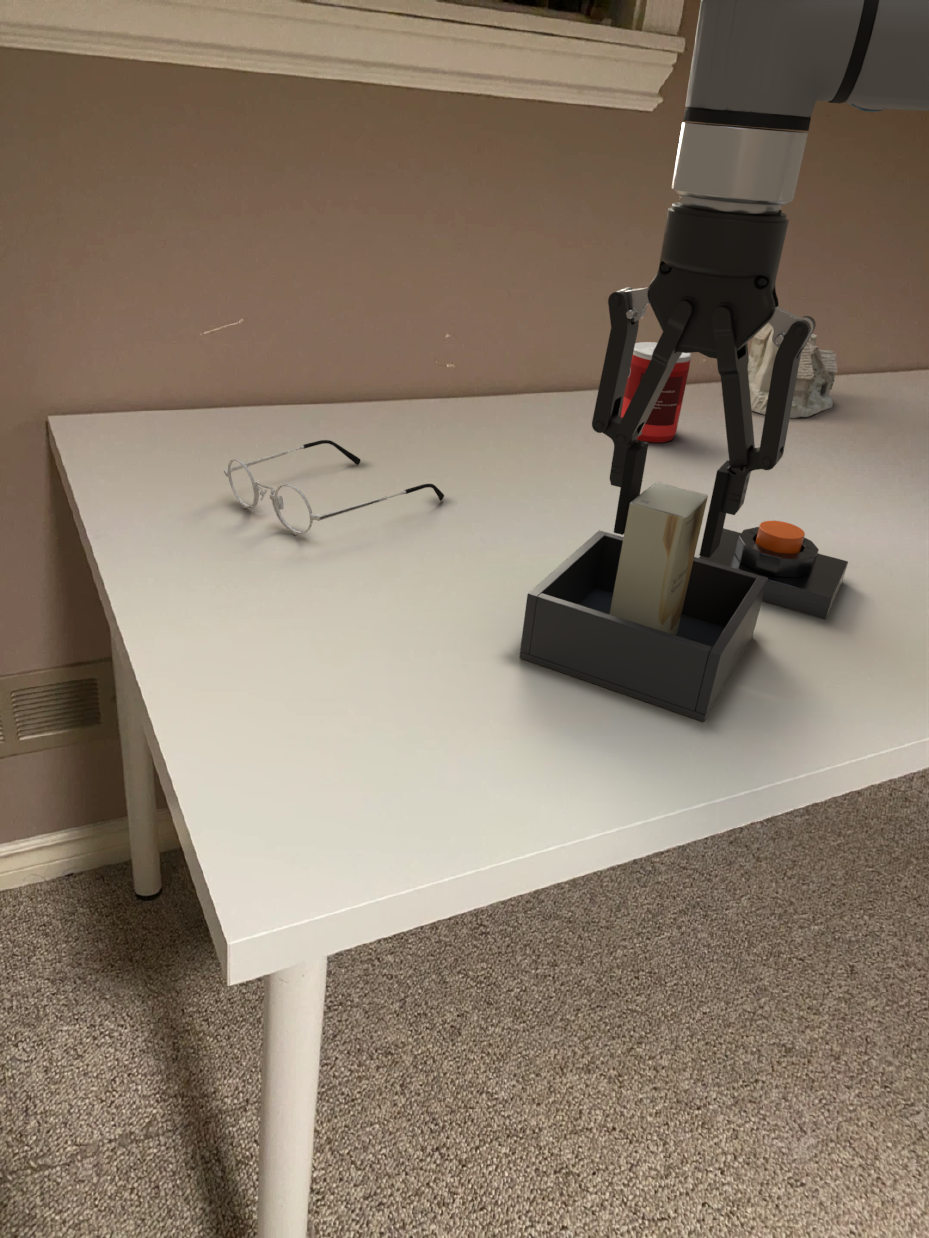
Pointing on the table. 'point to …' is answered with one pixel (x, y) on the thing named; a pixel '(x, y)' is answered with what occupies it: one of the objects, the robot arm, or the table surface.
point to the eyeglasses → (278, 500)
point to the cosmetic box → (658, 556)
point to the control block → (785, 571)
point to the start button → (780, 537)
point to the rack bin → (642, 630)
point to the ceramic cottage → (810, 380)
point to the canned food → (670, 400)
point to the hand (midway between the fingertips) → (666, 538)
